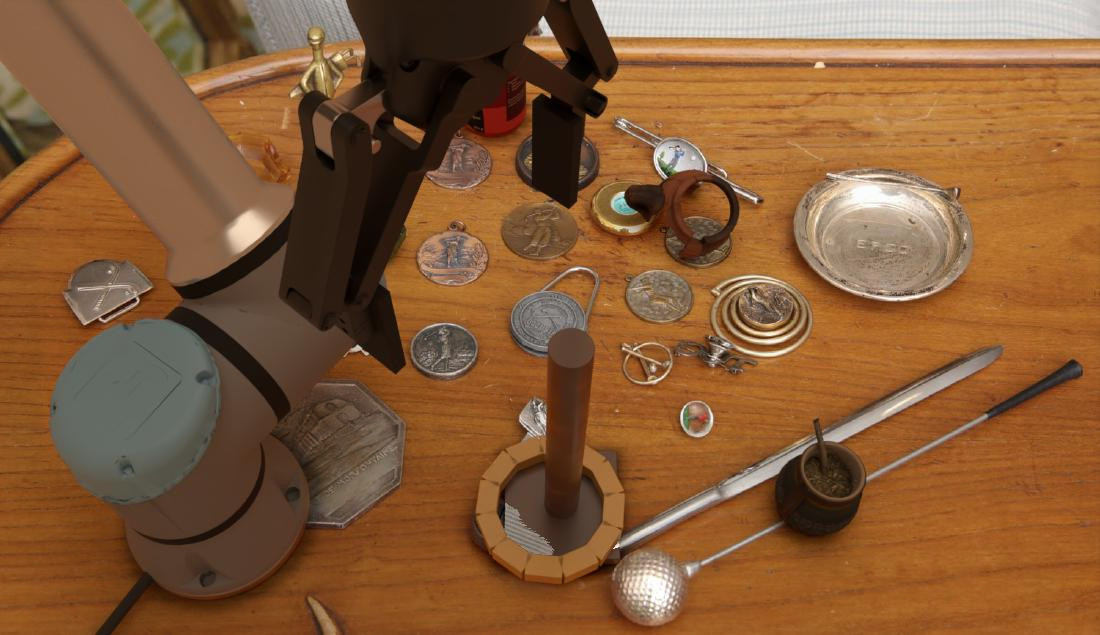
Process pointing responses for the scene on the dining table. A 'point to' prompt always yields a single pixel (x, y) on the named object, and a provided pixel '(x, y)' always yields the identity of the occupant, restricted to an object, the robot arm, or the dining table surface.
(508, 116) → the canned food
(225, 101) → the dining table surface
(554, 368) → the holder
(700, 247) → the brown knobbed loop
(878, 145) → the dining table surface
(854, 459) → the mate gourd
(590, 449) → the ring
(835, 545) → the dining table surface
